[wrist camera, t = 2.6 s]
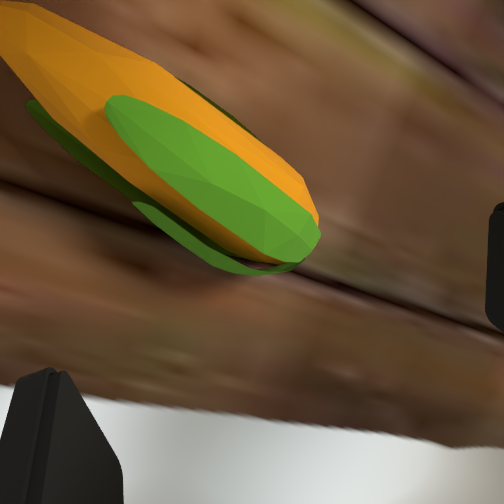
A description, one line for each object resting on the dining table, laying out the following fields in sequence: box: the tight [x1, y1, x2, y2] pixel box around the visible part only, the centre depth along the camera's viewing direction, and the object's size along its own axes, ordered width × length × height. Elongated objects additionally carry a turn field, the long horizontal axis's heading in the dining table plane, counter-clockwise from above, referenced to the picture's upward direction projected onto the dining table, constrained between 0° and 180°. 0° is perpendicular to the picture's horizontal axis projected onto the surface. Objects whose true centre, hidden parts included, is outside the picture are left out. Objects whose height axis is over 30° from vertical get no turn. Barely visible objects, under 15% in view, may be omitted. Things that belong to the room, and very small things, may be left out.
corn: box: [0, 0, 321, 276], centre depth 22 cm, size 7×8×20 cm
